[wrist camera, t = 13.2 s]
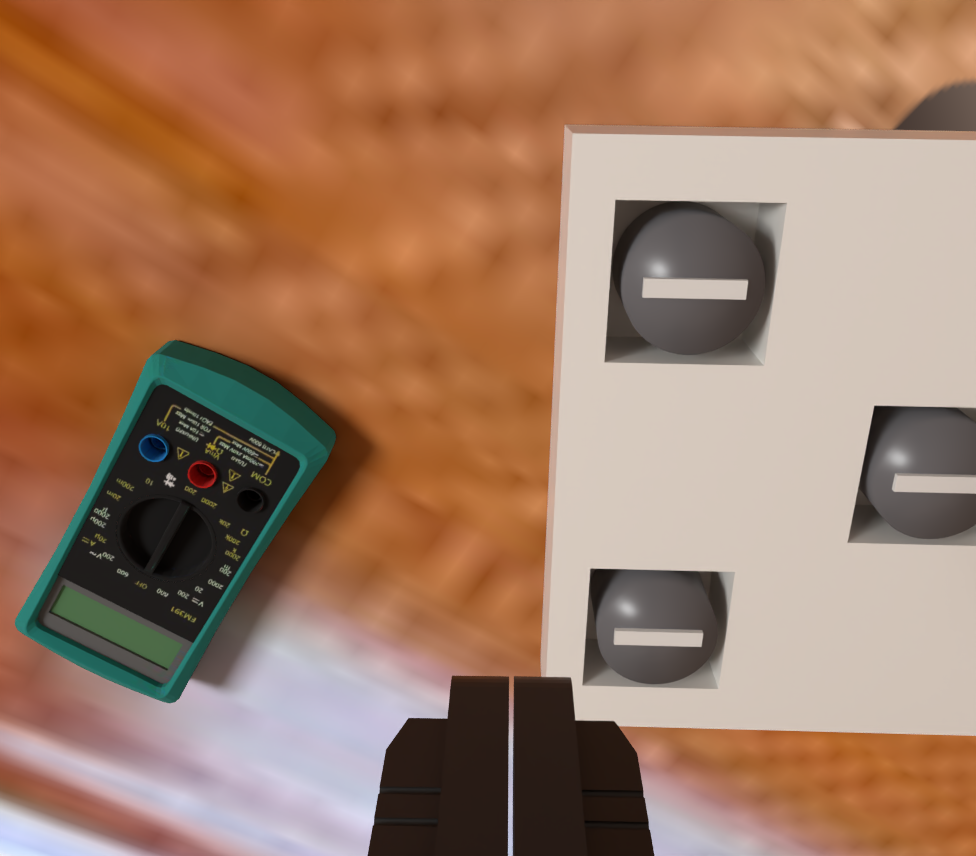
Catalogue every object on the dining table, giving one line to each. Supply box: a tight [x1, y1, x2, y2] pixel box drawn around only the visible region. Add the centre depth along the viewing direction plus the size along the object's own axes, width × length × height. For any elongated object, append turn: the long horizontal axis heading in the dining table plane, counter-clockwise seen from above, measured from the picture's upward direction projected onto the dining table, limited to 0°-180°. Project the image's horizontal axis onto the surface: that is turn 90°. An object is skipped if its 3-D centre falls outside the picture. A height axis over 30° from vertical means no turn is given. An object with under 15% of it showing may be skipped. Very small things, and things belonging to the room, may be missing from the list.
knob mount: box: [541, 124, 976, 736], centre depth 32 cm, size 22×17×4 cm
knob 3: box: [858, 406, 976, 539], centre depth 31 cm, size 4×4×3 cm
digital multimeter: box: [15, 340, 336, 703], centre depth 35 cm, size 7×15×3 cm, turn 148°
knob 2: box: [590, 569, 718, 684], centre depth 34 cm, size 4×4×3 cm
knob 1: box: [612, 201, 765, 355], centre depth 29 cm, size 4×4×3 cm
